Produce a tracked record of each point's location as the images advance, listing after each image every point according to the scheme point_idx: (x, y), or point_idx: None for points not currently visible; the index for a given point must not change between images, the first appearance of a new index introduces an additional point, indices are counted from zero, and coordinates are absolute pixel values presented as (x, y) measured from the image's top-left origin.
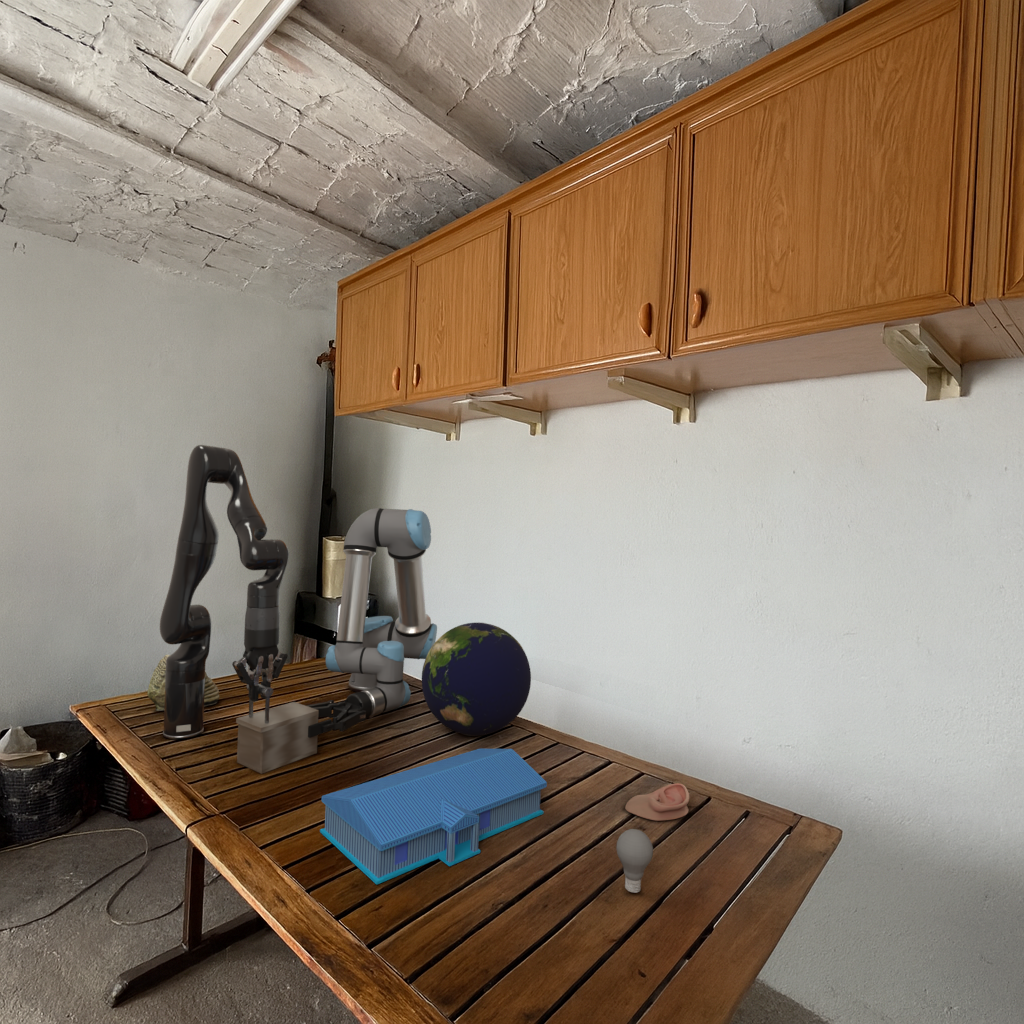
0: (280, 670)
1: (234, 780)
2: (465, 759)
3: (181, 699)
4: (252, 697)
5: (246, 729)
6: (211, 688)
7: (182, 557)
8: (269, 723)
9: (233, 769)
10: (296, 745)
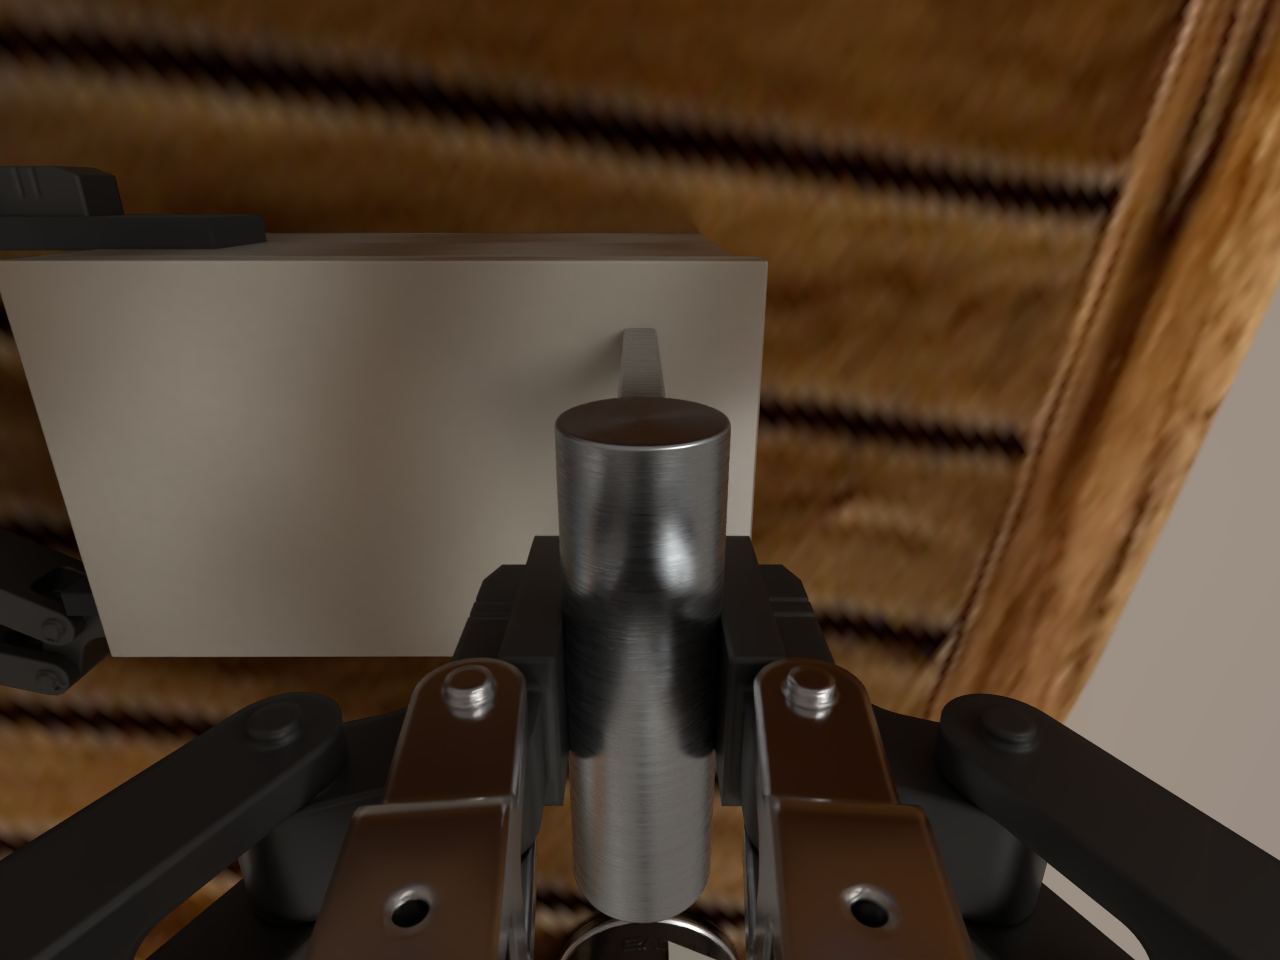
0: (109, 813)
1: (859, 284)
2: None
3: None
4: (792, 581)
5: None
6: None
7: None
8: (627, 313)
9: (763, 427)
10: (395, 239)
